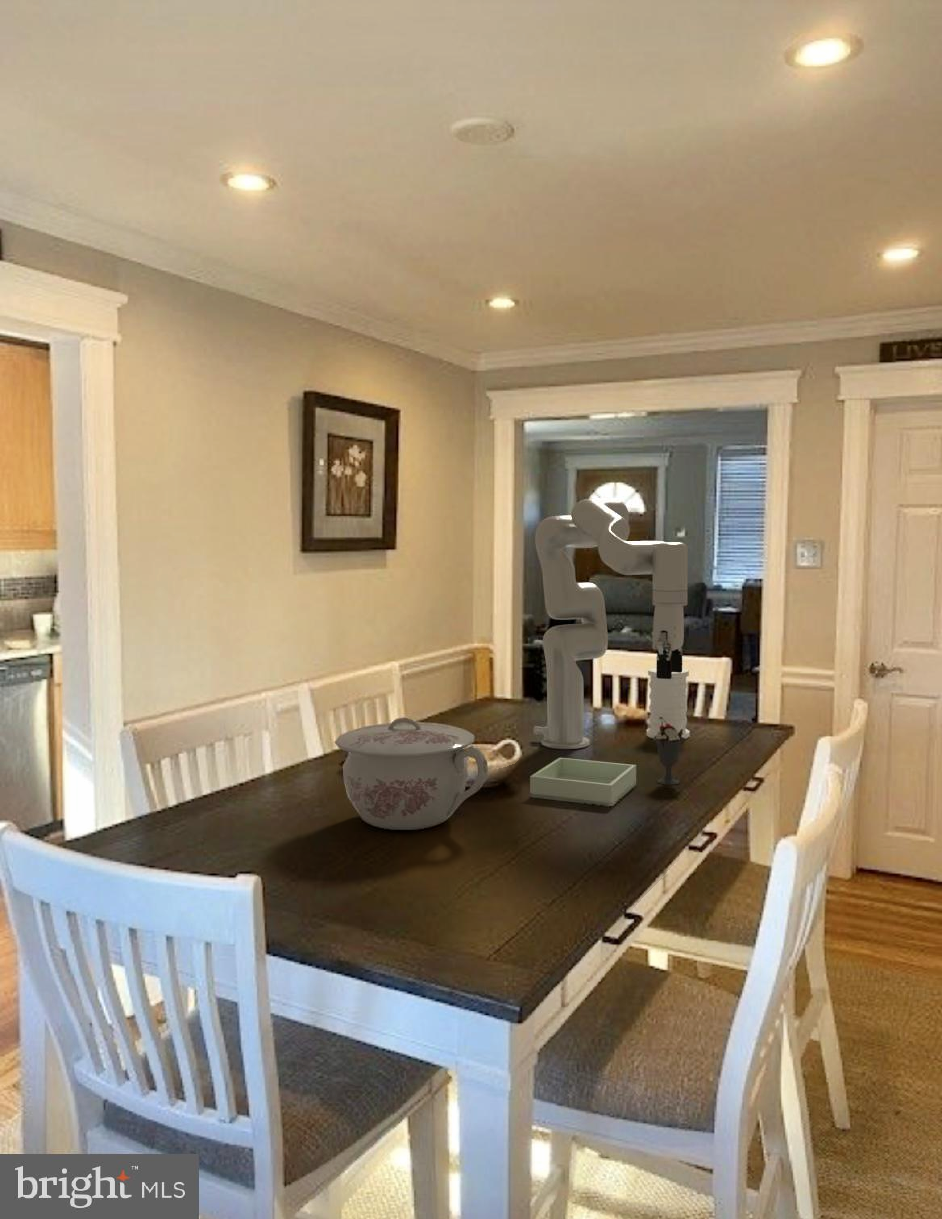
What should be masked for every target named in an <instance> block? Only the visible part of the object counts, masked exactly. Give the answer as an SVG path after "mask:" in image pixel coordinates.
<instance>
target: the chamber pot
mask: <svg viewBox="0 0 942 1219" xmlns="http://www.w3.org/2000/svg"><path fill="white" fill-rule="evenodd" d="M474 742H475V735H474V734H473V733H472V732H470V731H468V730H467V729H464V728H461V727H457V726H453V725H451V724H443V723H435V722H420V721H416V720H414V719H412V718H410V717H399V718H395V719H394V720H393V721H392V722H389V723H379V724H374V725H373V724H372V725H366V726H362V727H359V728H356V729H355V728H354V729H352V730H349V731H346V732H345V733H341V734H340V735H338V737H337V738H336V740H335V741H334V743H335V745H336V746H337V748H339V749H340V750H342V751H345V752H346V753H347V752H348V753H349V755H348V757H346V759H345V761H344V763H343V764H342V778H343V783H344V788H345V792H346V795H347V798H348V800H349V802H351V804H352V806H353V808H354V809H355V810H356V812H357V813H358V814H359V816H360V818H361V819H362V821H364V822H365V823H367V824H368V825H370V826H373V827H376V828H380V829H383V828H384V830H387V829H389V830H388V831H394V830H413V831H420V830H419V829H421V830H424V828H425V829H429V828H431V827H435V826H437V825H441V824H443V823H444V822H446V821H447V820H449V818H450V817H451V816H452V815H453V814H454V813H455V812H456V810H457V809H458V808H459V806H461V804H463V802H464V801H465V800H467V799H468V798H469V797H471V796H473V795H474V794H475V793H477V792H478V791H479V790H480V789H481V788H482V786H483V785H484V784H485V782H486V781H487V778H488V772H489V766H488V759H487V758H486V756H485V753H484V752H482V750H481V749H479V747H477V746H476V745H473V743H474ZM468 746H469V747H468ZM467 757H469V758H473V759H474V760H475V763H476V765H477V766H476V768H477V775H476V778H475V779H476V780H475V781H474V782H473V784H472V785H471V786H470V787H469V788H468V789H467V790H466V785H467V781H468V758H467Z"/></svg>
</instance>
